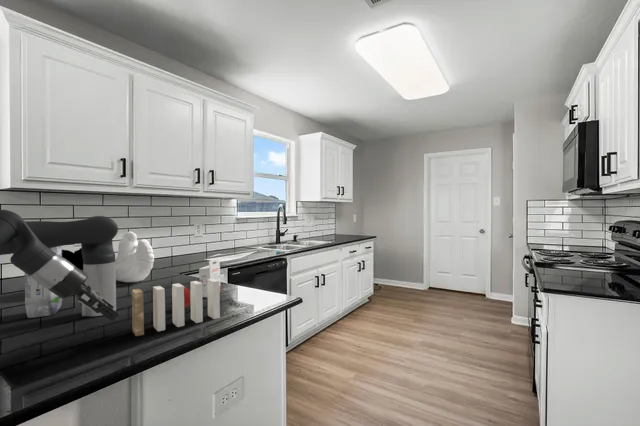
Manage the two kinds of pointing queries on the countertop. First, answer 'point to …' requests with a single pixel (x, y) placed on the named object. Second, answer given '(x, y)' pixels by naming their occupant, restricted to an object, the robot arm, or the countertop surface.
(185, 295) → the onion
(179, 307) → the domino
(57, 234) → the robot arm
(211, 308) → the domino
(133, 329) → the maple tile
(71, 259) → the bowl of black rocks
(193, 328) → the countertop surface
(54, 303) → the juice carton
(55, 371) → the countertop surface
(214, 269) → the ink cartridge box
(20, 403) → the countertop surface
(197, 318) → the domino
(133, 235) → the decorative rooster
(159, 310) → the domino
